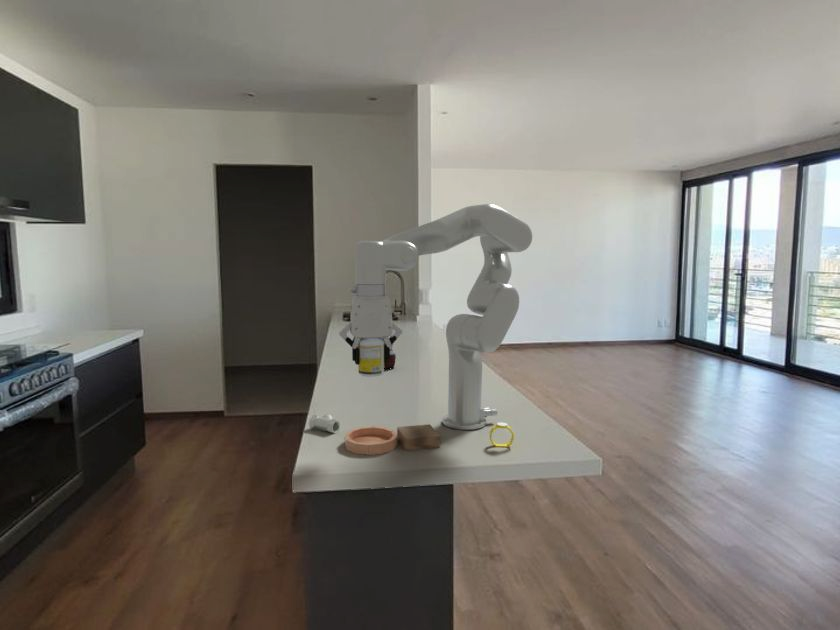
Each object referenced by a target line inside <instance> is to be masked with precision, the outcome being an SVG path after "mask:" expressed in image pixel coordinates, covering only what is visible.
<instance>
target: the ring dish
mask: <svg viewBox="0 0 840 630" xmlns="http://www.w3.org/2000/svg"><path fill="white" fill-rule="evenodd" d="M344 445H345V446H344V447H345V449H346V450H347V451H349V452H351V453H353V454H355V455H356V454H357V455H364V454H366V456H373V455H382V454H385V453H388V452H391V451H393V450H395V449H396V447H397V446H398V439H397V431H395V430H393V429H391V428H388V427H385V426H384V427H382V426H363V427H358V428H354V429H351V430H349V431H348V432H346V433H345V434H344Z"/></svg>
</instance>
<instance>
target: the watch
mask: <svg viewBox="0 0 840 630" xmlns="http://www.w3.org/2000/svg"><path fill="white" fill-rule="evenodd" d="M496 429H507V430H509V431H510V433H511V438H510V440H509V441H508V442H507V443H505V444H504V443H496V442H495V441H494V440H493V439H492V434H493V433H494V431H495V430H496ZM514 436H515V435H514V431H513V430H512V428H511V427H510V426H509V425H508V423H507V422H501V421H500V422H496V424H495V425H494V426H492V428H491V429H490V431H489V440H490V442H491V444H492V445H493V446H494V447H496V448H508V447H510V446H511V445H512V444H513V441H514V439H515V438H514Z"/></svg>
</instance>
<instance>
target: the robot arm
mask: <svg viewBox="0 0 840 630" xmlns="http://www.w3.org/2000/svg"><path fill="white" fill-rule="evenodd" d="M476 237H477V238H478V237H479V241H480V245H481V249H482V253H483V257H484V262H483V266H482V269H481V271H480V273H479V275H478V276H477V278H476V280H475V282H474V284H473V286H472V288H471V290H470V291H469V292H468V293H469V294H468V296H467V298H466V304H467V305H466V306H467V308H468V309H469V310H470V311H471V313H475V314H477V315H475V314H468V313H460V314H455V315H454V316H452V317H451V318H450V319H449V320H448V322H447V324H446V328H445V339H446V344H447V350H448V394H447V395H448V396H447V398H448V400H447V403H448V406H447V411H448V412H447V414H446V415H444V416H443V417H442V424H443V425H444V426H446V427H448V428H451V429H456V430H464V431H465V430H466V431H468V430H469V431H470V430H479V429H482V428H484V427H485V426H486V425H487V419H486V418H488V417H490V416H491V417H494V416H495V417H496V416H498V410H497V409H496V408H491V409H490V407H483V406H482V396H483V395H482V386H483V383H482V382H483V361H482V360H483V359H482V355H481V353H484V354H488V353H492V352H495V351H496V350H497V349H498V348H499V347H500V346H501V344H502V342H504V339H505V337H506V335H507V333H508V332H509V329H510V327H511V325H512V323H513V321H514V320H515V317H516V315H517V314H518V311H519V307H520V295H519V293H518V290H517V289H516V288H515V287H514V286H513V285H511V284H508V283H509V282H510V278H511V277H512V271H513V270H512V264H511V259H510V257H509V254H508V253H522V252H524V251H526V250H528V248H529V247H531V244H532V242H533V232H532V230H531V228H530V226H529V224H527V223H526V221H524V220H522V219H520V218H519V217H517V216H515V215H513V214H512V213H510V212H509V211H507V210H505V209H503V208H502V207H500V206H498V205H495V204H491V203H483V204H474V205H468V206H466V207H463V208H460V209H458V210H456V211H453V212H451V213H449V214H447V215H445V216H442V217H440V218H437V219H435V220H432V221H430V222H427V223H424V224H421V225H419V226H417V227H414V228H410V229H406V230H405V231H402V232H399V233H397V234H394V235H392V236H390V237H388V238H385V239H383V240H381V241H379V240H361V241H358V242H357V243H356V244H355V247H354V258H355V259H354V260H355V261H354V262H355V263H354V267H355V269H354V270H355V271H354V273H355V275H354V277H355V281H354V283H355V284H354V285H353V286H349V293H352V294H354V295H355V296H353V297H352V300H351V307H350V321H349V322H348V323H347V324H346V325H345V326H344V327H343V328H342V329H341V330H339V332H338V335H339V336H340V338H342V339H343V340H344V341H345V342H346V343H347V344H348V345H349V346H350V347H351V348H352V351H351V353H352V354H351V355H352V357H351V358H352V359H351V360H352V361H354V363H355V365H358V364H359V349H358V344H359V342H360V339H361V338H382V339H383V340H384V363H388V359H390V349H391V345H392V344H393V345H394V343H395V342H396V341H397V339H398V338H399V337H400V336H401V335H402V334H403V330H402V329H400V327H398V326H397V325H396V324H395V323H394V322H393V314H392V313H393V312H392V304H391V299H390V297H389V296H387V271H399V272H405V271H410V270H411V269H412V268H414V267H415V266H417V265H416V264H417V263H418V261H419V257H420V256H423V255H424V256H426V255H432V254H440V253H443V252H447V251H448V250H450V249H453V248H454V247H456V246H458V245H461V244H463V243H465V242H467V241H469V240H471V239H473V238H476ZM349 332H350V334H351V335H352V337H353V338H352V339H351V338H350V337H349V335H347V334H348V333H349ZM393 332H394V333H393Z"/></svg>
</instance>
